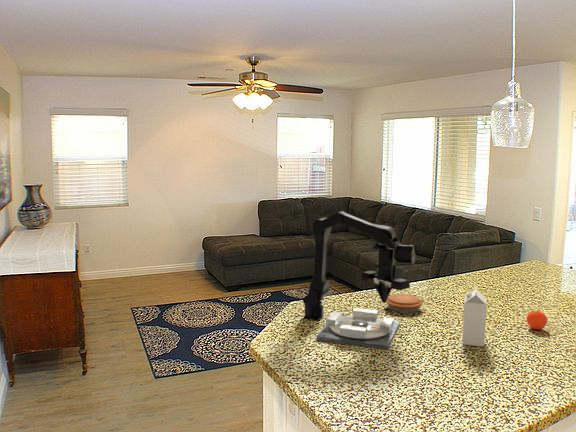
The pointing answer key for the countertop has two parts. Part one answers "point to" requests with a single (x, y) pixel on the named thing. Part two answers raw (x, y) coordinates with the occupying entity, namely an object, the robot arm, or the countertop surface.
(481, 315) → the milk carton
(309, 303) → the robot arm
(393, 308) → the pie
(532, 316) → the tomato
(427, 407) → the countertop surface
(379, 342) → the base plate
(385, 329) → the slotted metal disc
